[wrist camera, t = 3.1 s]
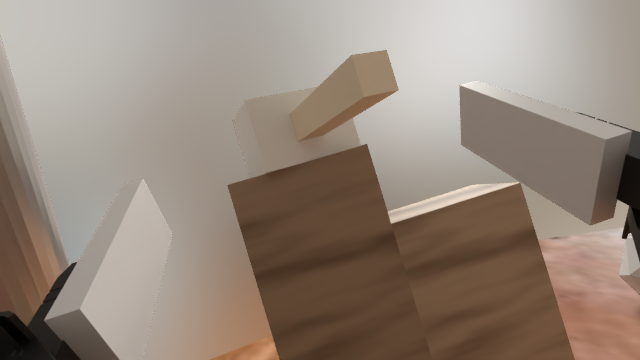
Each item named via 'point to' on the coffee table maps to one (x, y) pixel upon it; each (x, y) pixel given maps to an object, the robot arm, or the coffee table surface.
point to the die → (630, 265)
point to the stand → (396, 268)
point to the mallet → (312, 116)
